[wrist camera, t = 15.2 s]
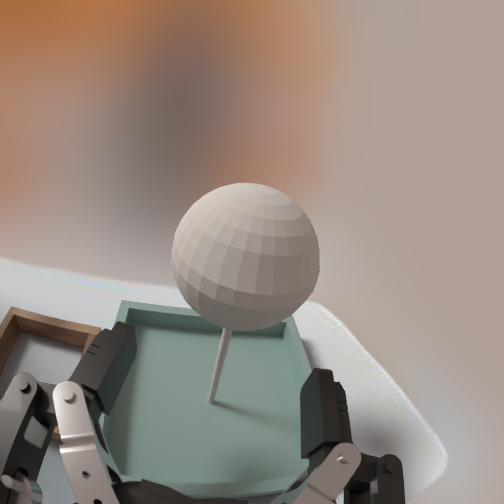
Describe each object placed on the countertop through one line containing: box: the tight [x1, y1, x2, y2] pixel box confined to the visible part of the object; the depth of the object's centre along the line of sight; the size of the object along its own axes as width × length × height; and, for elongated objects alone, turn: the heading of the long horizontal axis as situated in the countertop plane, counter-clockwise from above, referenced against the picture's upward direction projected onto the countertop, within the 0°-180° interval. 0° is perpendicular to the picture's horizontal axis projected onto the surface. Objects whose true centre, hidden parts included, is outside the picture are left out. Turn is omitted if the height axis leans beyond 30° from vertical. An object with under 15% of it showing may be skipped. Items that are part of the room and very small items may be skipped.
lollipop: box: [172, 183, 320, 404], centre depth 13 cm, size 6×6×15 cm
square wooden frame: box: [0, 307, 101, 441], centre depth 14 cm, size 10×10×2 cm
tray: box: [99, 300, 312, 499], centre depth 17 cm, size 15×15×2 cm
